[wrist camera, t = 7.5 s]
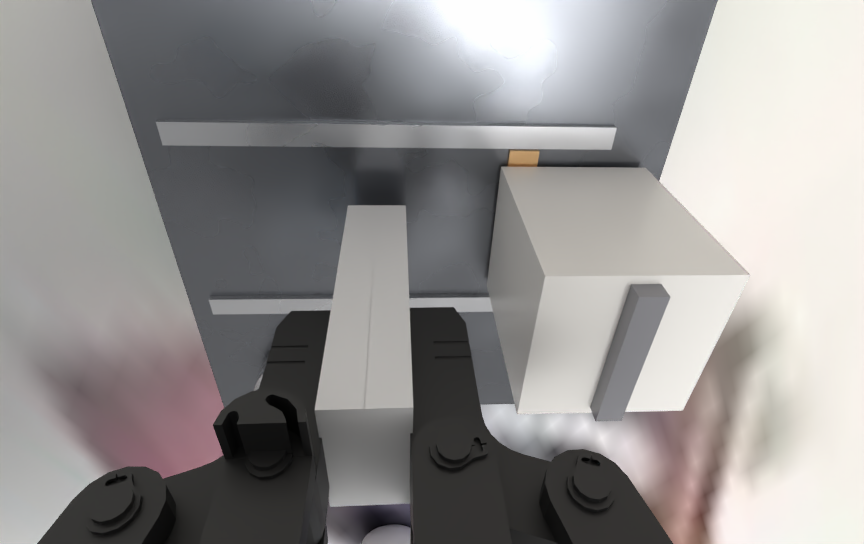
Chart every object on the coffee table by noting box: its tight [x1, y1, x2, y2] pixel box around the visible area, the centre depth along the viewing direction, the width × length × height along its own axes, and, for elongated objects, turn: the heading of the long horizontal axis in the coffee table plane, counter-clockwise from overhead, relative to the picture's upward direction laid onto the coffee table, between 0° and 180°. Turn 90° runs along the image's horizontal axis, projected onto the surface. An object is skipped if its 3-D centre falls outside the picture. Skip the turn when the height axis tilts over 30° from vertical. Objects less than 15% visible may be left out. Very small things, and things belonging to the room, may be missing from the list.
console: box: [91, 0, 718, 408], centre depth 15 cm, size 14×16×4 cm
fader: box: [487, 167, 750, 421], centre depth 12 cm, size 4×4×5 cm
